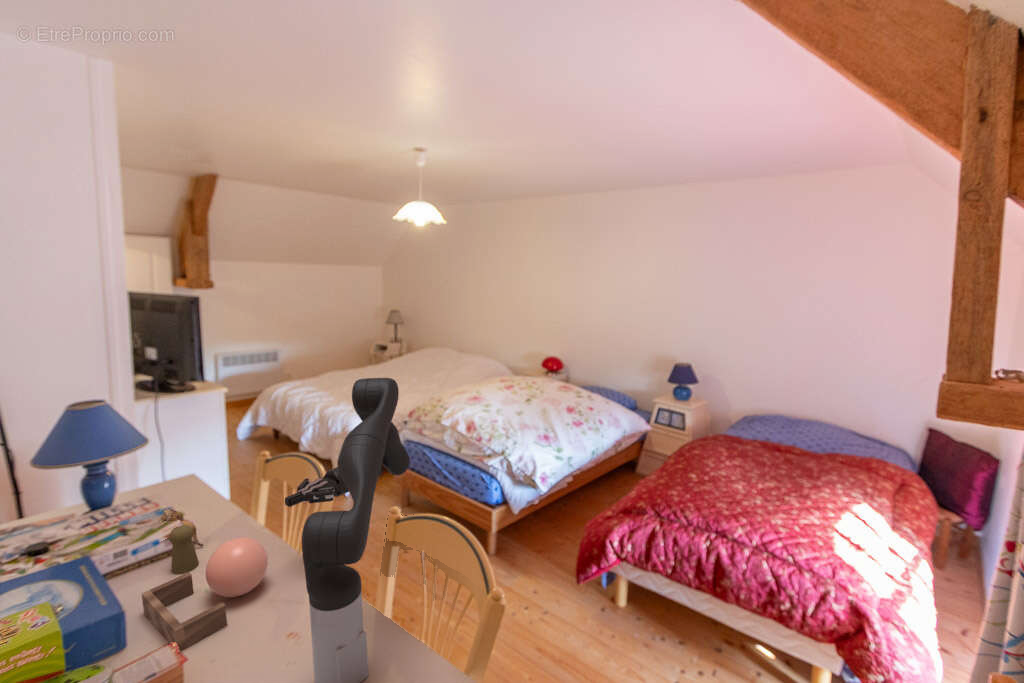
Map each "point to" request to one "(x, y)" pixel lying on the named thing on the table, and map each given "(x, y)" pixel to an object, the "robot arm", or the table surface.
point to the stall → (168, 624)
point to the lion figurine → (174, 515)
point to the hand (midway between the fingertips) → (286, 502)
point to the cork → (183, 550)
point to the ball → (236, 567)
